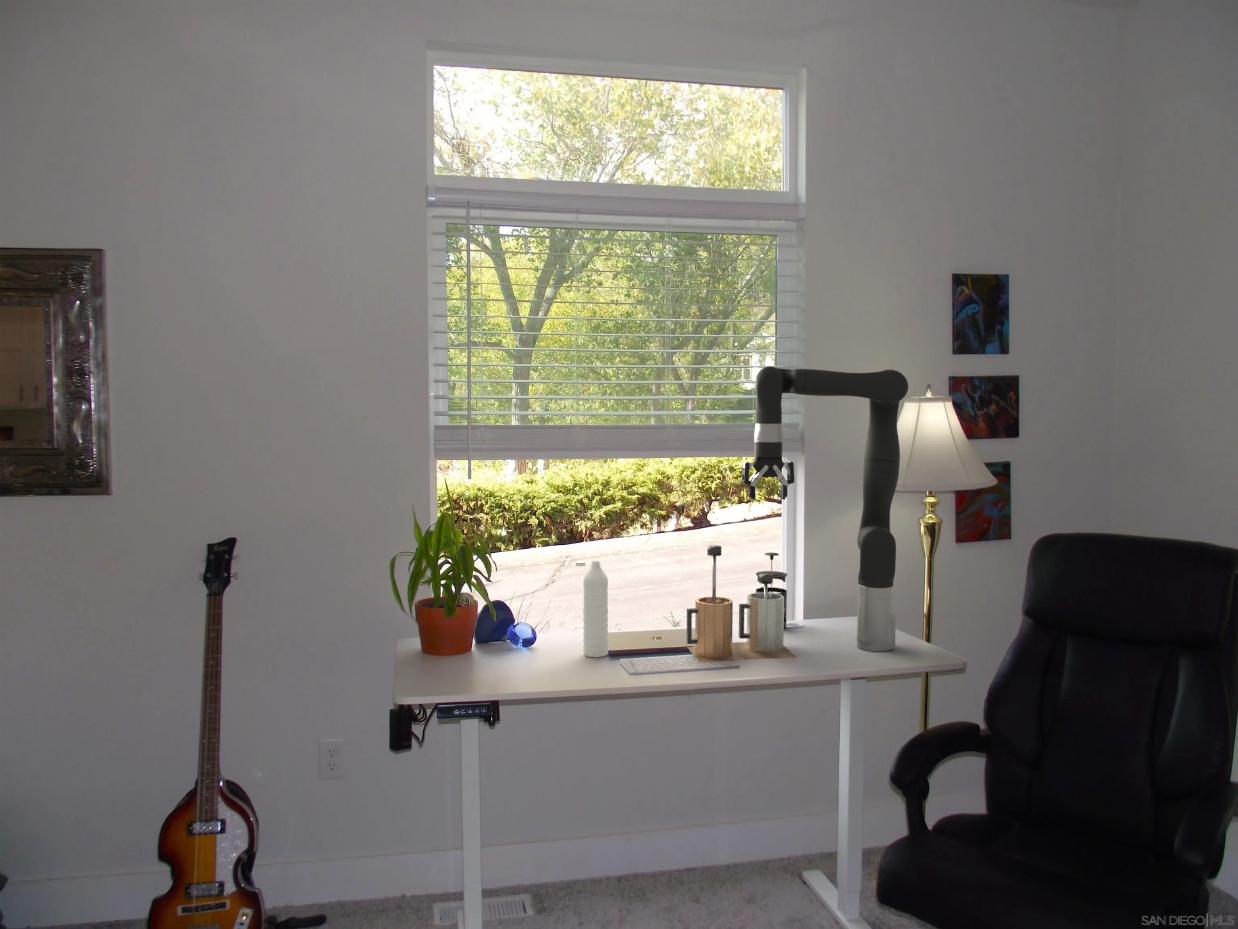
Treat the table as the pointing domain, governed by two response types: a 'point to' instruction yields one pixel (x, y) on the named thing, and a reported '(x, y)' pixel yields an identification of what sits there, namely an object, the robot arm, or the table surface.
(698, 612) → the copper carafe
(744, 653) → the board
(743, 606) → the steel carafe
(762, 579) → the steel plunger
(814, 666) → the table surface
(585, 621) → the water bottle
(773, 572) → the french press
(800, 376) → the robot arm
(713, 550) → the black knob plunger
